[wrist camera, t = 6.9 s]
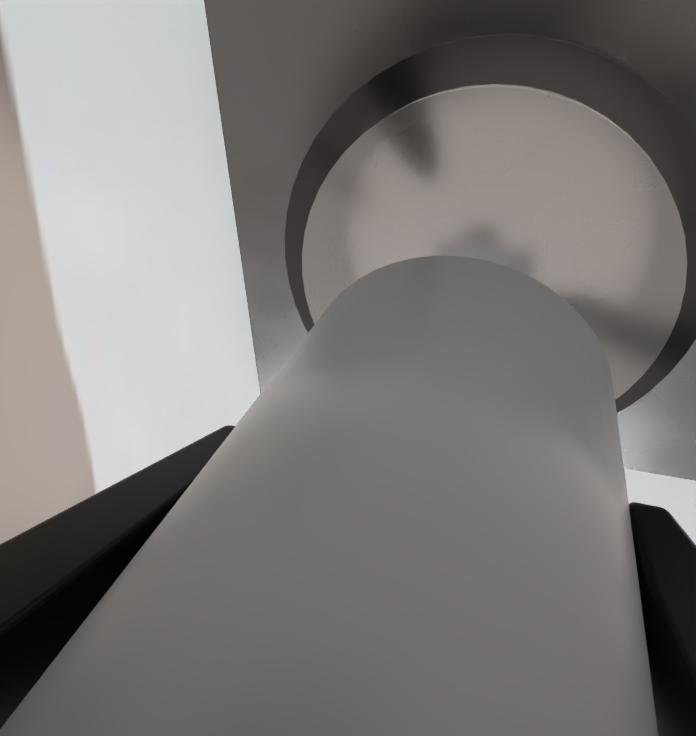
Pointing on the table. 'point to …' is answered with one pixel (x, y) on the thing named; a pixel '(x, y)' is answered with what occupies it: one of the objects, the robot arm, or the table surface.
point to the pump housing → (388, 540)
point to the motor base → (324, 70)
